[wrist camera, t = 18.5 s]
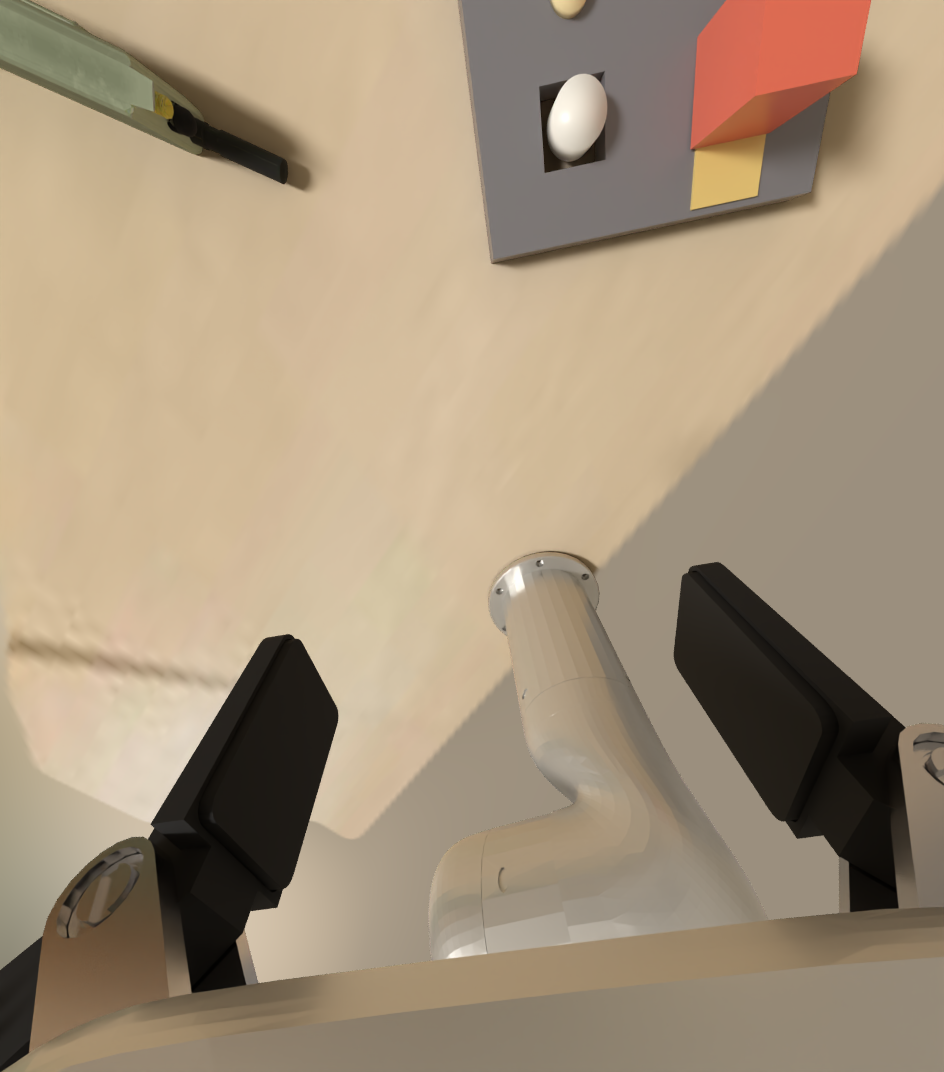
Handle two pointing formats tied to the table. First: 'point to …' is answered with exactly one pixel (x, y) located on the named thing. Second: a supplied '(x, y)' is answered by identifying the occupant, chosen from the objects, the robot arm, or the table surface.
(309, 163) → the table surface
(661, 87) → the panel
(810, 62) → the cap
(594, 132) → the white egg
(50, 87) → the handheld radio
